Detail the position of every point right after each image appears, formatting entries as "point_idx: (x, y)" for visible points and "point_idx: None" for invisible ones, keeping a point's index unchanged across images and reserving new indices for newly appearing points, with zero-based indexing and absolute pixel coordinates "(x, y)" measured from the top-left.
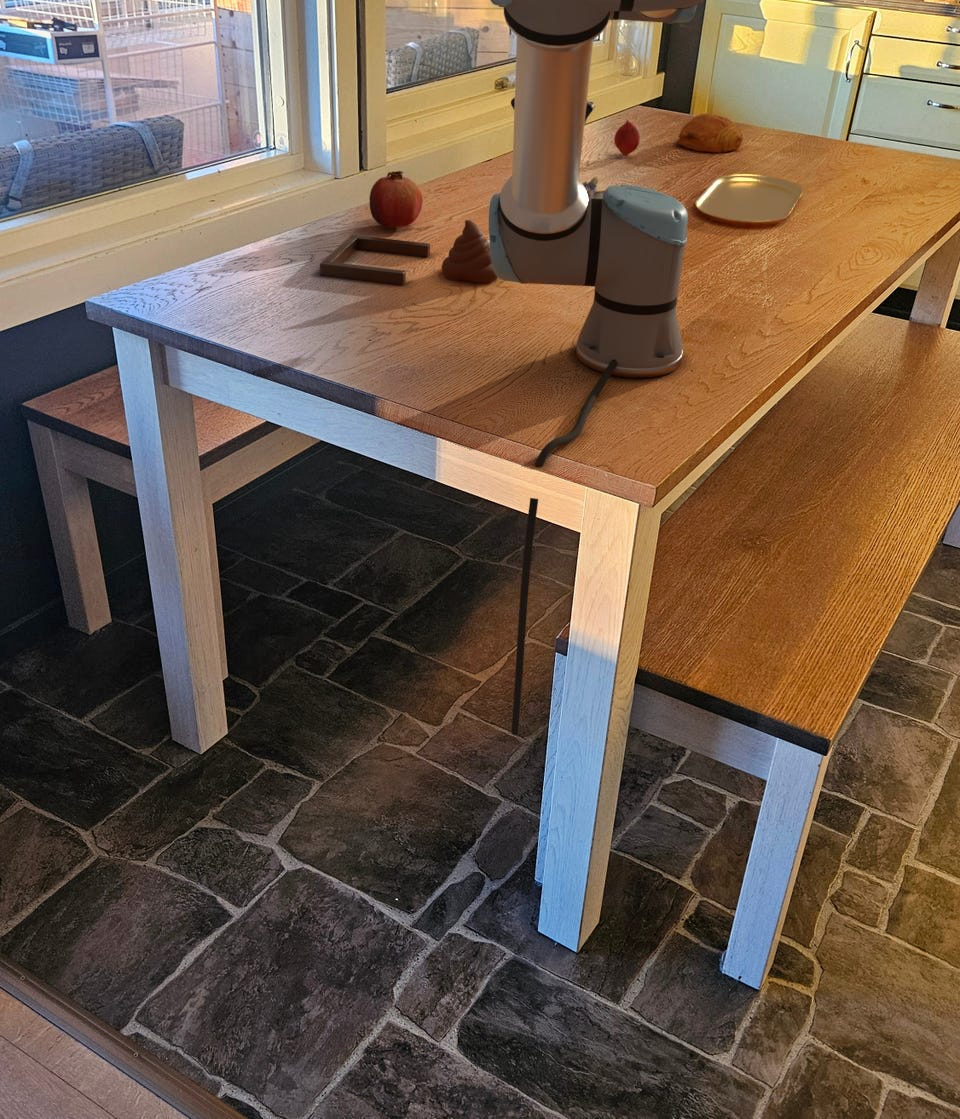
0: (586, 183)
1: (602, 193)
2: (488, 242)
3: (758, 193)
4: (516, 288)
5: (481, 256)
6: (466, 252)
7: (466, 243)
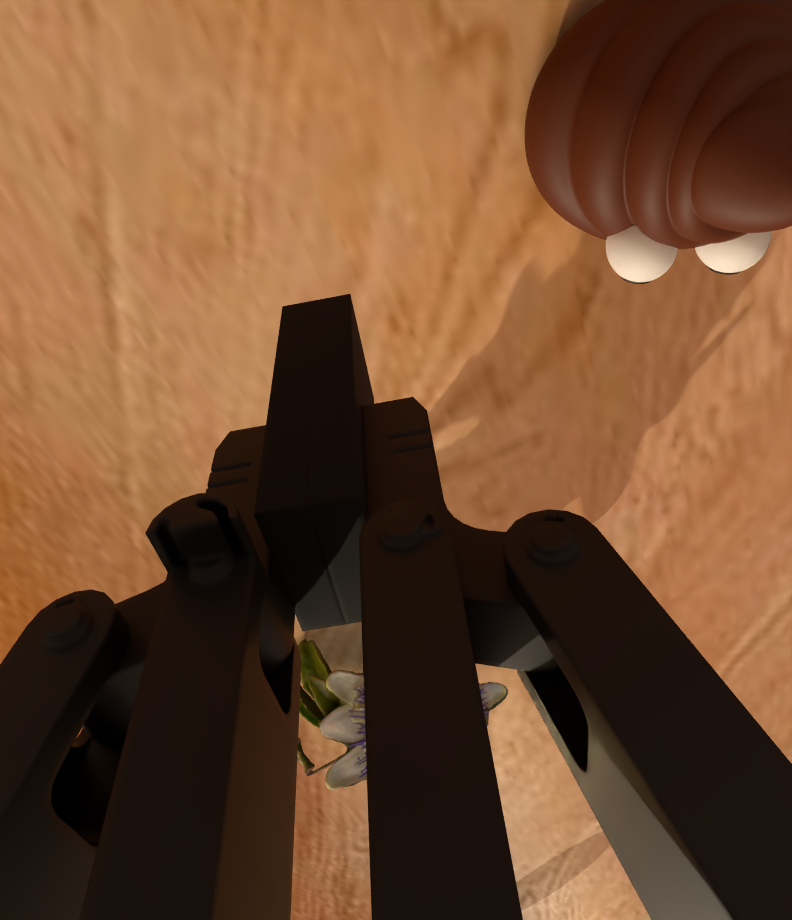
0: None
1: (354, 774)
2: (638, 195)
3: None
4: (408, 64)
5: (641, 63)
6: (740, 31)
7: (767, 67)
